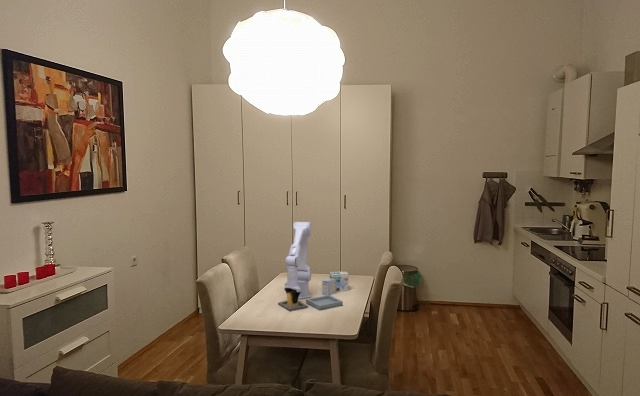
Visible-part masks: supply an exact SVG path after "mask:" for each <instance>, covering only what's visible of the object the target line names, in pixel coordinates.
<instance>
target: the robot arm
mask: <svg viewBox="0 0 640 396" xmlns="http://www.w3.org/2000/svg"><path fill="white" fill-rule="evenodd" d="M312 227H313V226H312V223H311V222H310V221H294V222H293V224H292V231H293V233H294V237H293V238H294V239H293V243H292V244H291V245H290V248H289V251H288V255H287V256H286V257H285V268H286V269H285V270H286V274H287V275H286V277H287V278H286V279H287V280H286V282H284V291H285V293H286V294H287V293H288V292H291V294H292V299H293V304H295V303H297V301H299V300H301V299H309V298H312V295H310V293H309V292H310V291H309V286H310V285H309V282H310V281H311V280H312V268H311V267H310V266H309V265H308V264H307V263H308V245H309V237H311V236H312Z"/></svg>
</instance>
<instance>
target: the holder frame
mask: <svg viewBox="0 0 640 396" xmlns="http://www.w3.org/2000/svg"><path fill="white" fill-rule="evenodd" d="M277 305H278V306H279V307H281V308H283V309H285V310H286V311H288V312H295V311H299V310H300V311H301V310H304V309H309V305H308V304H306V303H303V302H302V301H300V300H298V307H293V308H290V307H288V306H287V300H285V301H284V300H283V301H279V302H277Z"/></svg>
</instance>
